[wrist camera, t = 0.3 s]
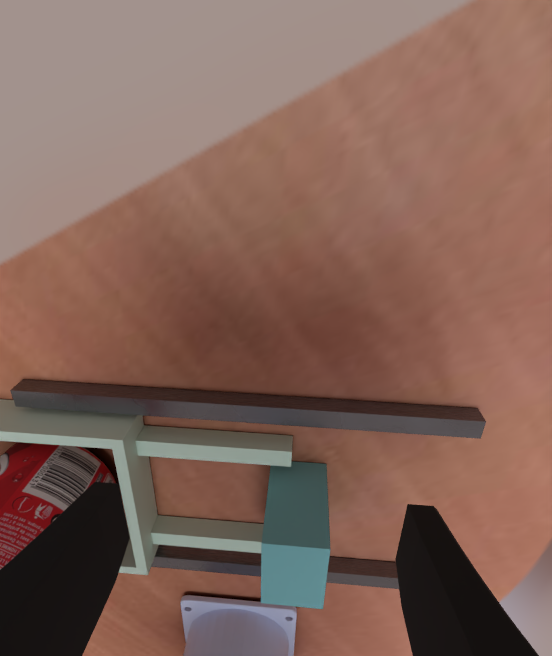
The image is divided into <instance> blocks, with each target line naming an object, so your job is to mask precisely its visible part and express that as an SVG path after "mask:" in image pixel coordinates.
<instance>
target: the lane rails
mask: <svg viewBox="0 0 552 656" xmlns="http://www.w3.org/2000/svg"><path fill="white" fill-rule="evenodd" d="M10 391H11V394H12V397H13V400H14V403H15V406H16V407H28V408H42V409H57V410H72V411H86V412H101V413H115V414H130V415H145V416H159V417H174V418H189V419H203V420H218V421H232V422H247V423H262V424H276V425H291V426H306V427H320V428H335V429H349V430H364V431H379V432H393V433H408V434H423V435H437V436H452V437H466V438H481V436H482V433H483V429H484V426H485V423H486V421H485V419H484V418H483V416H482V414H481V413H480V411H479V409H478V408H464V407H448V406H432V405H417V404H401V403H386V402H370V401H355V400H339V399H323V398H308V397H292V396H277V395H261V394H246V393H230V392H214V391H199V390H183V389H168V388H152V387H136V386H121V385H105V384H90V383H74V382H59V381H43V380H27V379H23V380H22V381H21V382H19V383H18V384H17V385H16V386H15V387H14V388H13V389H11V390H10ZM151 567H162V568H173V569H184V570H195V571H206V572H217V573H228V574H239V575H250V576H261V553H251V552H240V551H228V550H217V549H206V548H194V547H183V546H171V545H160V544H159V546H158V549H157V551H156V554H155V557H154V560H153V562H152V565H151ZM326 582H328V583H339V584H350V585H361V586H372V587H383V588H394V589H399V583H398V575H397V567H396V562H384V561H373V560H361V559H350V558H338V557H329V564H328V572H327V580H326Z"/></svg>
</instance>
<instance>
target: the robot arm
mask: <svg viewBox="0 0 552 656" xmlns="http://www.w3.org/2000/svg"><path fill="white" fill-rule="evenodd" d="M129 539H130V537H129V532H128V527H127V523H126V518H125V513H124V508H123V504H122V499H121V494H120V490H119V485H118V483H105V482H94V483H93V484H92V485H91V486H90V487H89V488H87V489H86V490H85V491H84V492H83V493H82V494H81V495H80V496H79V497H78V498H77V499H76V500H75V501H74V502H73V503H72V504H71V505H70V506H69V507H67V508H66V509H65V510H64V511H63V512H62V513H61V514H60V515H59V516H58V517H57V518H56V519H55V520H54V521H53V522H52V523H51V524H50V525H49V526H48V527H46V528H45V529H44V530H43V531H42V532H41V533H40V534H39V535H38V536H37V537H36V538H35V539H34V540H32V541H31V542H30V543H29V544H28V545H27V546H26V547H25V548H24V549H23V550H22V551H20V552H19V553H18V554H17V555H16V556H15V557H14V558H13V559H12V560H11V561H9V562H8V563H7V564H6V565H5V566H4V567H3V568H2V569H0V656H82V654H83V652H84V650H85V648H86V646H87V643H88V641H89V639H90V637H91V635H92V633H93V630H94V628H95V626H96V624H97V622H98V619H99V617H100V615H101V613H102V611H103V608H104V606H105V604H106V602H107V599H108V597H109V595H110V593H111V590H112V588H113V586H114V584H115V581H116V578H117V575H118V573H119V570H120V567H121V564H122V561H123V558H124V555H125V552H126V548H127V545H128V542H129ZM396 567H397V575H398V583H399V590H400V598H401V605H402V610H403V614H404V619H405V623H406V628H407V632H408V636H409V641H410V645H411V649H412V653H413V656H539V655H538V654H537V653H536V652H535V650H534V649H533V648H532V646H531V645H530V644H529V643H528V641H527V640H526V638H525V637H524V636H523V635H522V634H521V632H520V631H519V629H518V628H517V627H516V625H515V624H514V623H513V621H512V620H511V619H510V617H509V616H508V615H507V613H506V612H505V611H504V609H503V608H502V607H501V605H500V604H499V602H498V601H497V599H496V598H495V597H494V595H493V594H492V592H491V591H490V590H489V588H488V587H487V585H486V584H485V582H484V581H483V580H482V578H481V577H480V575H479V574H478V572H477V571H476V569H475V568H474V567H473V565H472V564H471V562H470V561H469V559H468V558H467V556H466V555H465V553H464V552H463V550H462V549H461V547H460V545H459V544H458V542H457V541H456V539H455V538H454V536H453V535H452V533H451V531H450V530H449V528H448V527H447V525H446V523H445V522H444V520H443V519H442V517H441V515H440V514H439V512H438V511H437V509H436V508H435V507H434V506H424V505H411V504H408V505H407V510H406V514H405V519H404V524H403V528H402V533H401V537H400V542H399V546H398V551H397V555H396ZM180 604H181V612H182V619H183V626H184V634H185V641H186V646H185V650H184V654H183V656H294V643H295V630H296V617H297V609H296V607H295V606H285V605H274V604H264V603H261V602H257V601H247V600H236V599H226V598H215V597H204V596H194V595H185V596H183V597H182V599H181V603H180Z"/></svg>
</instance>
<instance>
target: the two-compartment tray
mask: <svg viewBox="0 0 552 656" xmlns="http://www.w3.org/2000/svg"><path fill="white" fill-rule="evenodd" d="M0 441H10V442H24V443H38V444H51V445H65V446H78V447H92V448H106V449H112V450H113V455H114V460H115V465H116V470H117V475H118V480H119V485H120V489H121V494H122V499H123V504H124V509H125V514H126V519H127V524H128V528H129V529H128V532H129V537H130V539H129V542H128V545H127V548H126V552H125V555H124V558H123V561H122V564H121V567H120V570H119V573H130V574H141V575H148V573H149V571H150V568H151V565H152V562H153V560H154V557H155V554H156V551H157V549H158V546H159V544H160V545H171V546H183V547H194V548H206V549H217V550H228V551H240V552H251V553H261V603H264V604H274V605H285V606H296V607H306V608H317V609H323V604H324V596H325V588H326V580H327V572H328V564H329V556H330V531H329V509H328V487H327V465H326V464H321V463H307V462H294V461H291V460H292V442H293V436H290V435H276V434H262V433H247V432H233V431H219V430H204V429H190V428H176V427H162V426H147V425H144V422H143V416H142V415H130V414H115V413H101V412H86V411H72V410H57V409H42V408H28V407H16V406H15V403H14V400H4V399H0ZM149 456H152V457H165V458H179V459H192V460H206V461H219V462H232V463H246V464H259V465H271V467H270V476H269V484H268V492H267V501H266V509H265V518H264V524H257V523H245V522H233V521H221V520H209V519H197V518H185V517H173V516H161V515H158V513H157V507H156V500H155V494H154V487H153V481H152V474H151V468H150V461H149Z"/></svg>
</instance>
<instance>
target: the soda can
mask: <svg viewBox="0 0 552 656" xmlns="http://www.w3.org/2000/svg"><path fill="white" fill-rule="evenodd" d="M94 482H105V483H116V481H115V479H114V477H113V475H112V474H111V472H110V471H109V469H108V468H107V467H106V466H105V464H104V463H103V462H102V461H101V460H99V459H98V458H97V457H96V456H95V455H94V454H93V453H91V452H90V451H88V450H87V449H85V448H83V447H78V446H65V445H51V444H38V443H24V442H18V443H16V444H15V445H13V446H12V447H11V448H9V449H8V450H7V451H6V452H5V453H4V454H3V455H1V456H0V569H2V568H3V567H4V566H5V565H6V564H7V563H8V562H9V561H11V560H12V559H13V558H14V557H15V556H16V555H17V554H18V553H19V552H20V551H22V550H23V549H24V548H25V547H26V546H27V545H28V544H29V543H30V542H31V541H32V540H34V539H35V538H36V537H37V536H38V535H39V534H40V533H41V532H42V531H43V530H44V529H45V528H46V527H48V526H49V525H50V524H51V523H52V522H53V521H54V520H55V519H56V518H57V517H58V516H59V515H60V514H61V513H62V512H63V511H64V510H65V509H66V508H67V507H69V506H70V505H71V504H72V503H73V502H74V501H75V500H76V499H77V498H78V497H79V496H80V495H81V494H82V493H83V492H84V491H85V490H86V489H87V488H89V487H90V486H91V485H92V484H93V483H94Z"/></svg>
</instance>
